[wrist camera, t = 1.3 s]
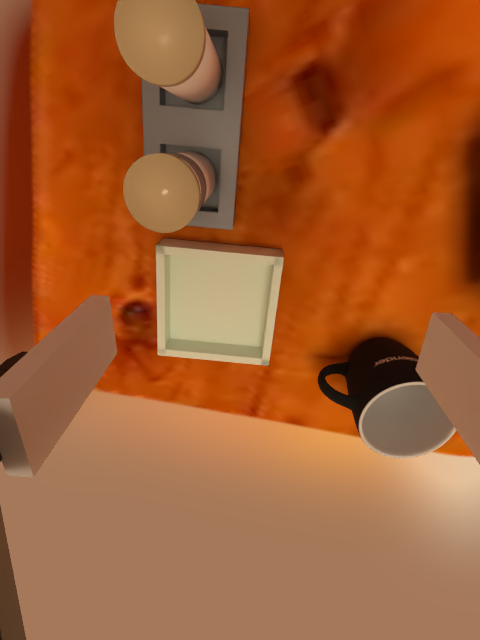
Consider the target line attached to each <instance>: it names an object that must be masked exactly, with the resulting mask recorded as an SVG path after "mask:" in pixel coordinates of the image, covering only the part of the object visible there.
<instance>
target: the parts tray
mask: <svg viewBox="0 0 480 640" xmlns="http://www.w3.org/2000/svg"><path fill="white" fill-rule="evenodd" d="M283 261H284V256H283V251H282V249H275V248H264V247H254V246H243V245H232V244H222V243H211V242H201V241H190V240H180V239H169V238H163V239H162V240H161V241H160V242H159V243H158V244H157V245H156V284H157V337H158V355H162V356H173V357H183V358H193V359H204V360H214V361H225V362H235V363H246V364H256V365H266V366H269V360H270V353H271V346H272V339H273V332H274V324H275V317H276V310H277V303H278V296H279V289H280V282H281V275H282V268H283Z"/></svg>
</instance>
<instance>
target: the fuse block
mask: <svg viewBox="0 0 480 640" xmlns="http://www.w3.org/2000/svg"><path fill="white" fill-rule="evenodd" d="M249 20H250V18H249V8H239V7H228V6H217V5H206V4H197V2H196V0H118V2H117V4H116V9H115V14H114V32H115V38H116V42H117V45H118V48H119V51H120V53H121V55H122V57H123V59H124V61H125V62H126V63H127V65H128V66H129V67H130V68H131V70H132V71H133V72H134V73H136V74H137V75H138V76H139V77H141V78H142V109H143V142H144V156H145V155H149V154H155V153H180V152H189V151H196V152H200V153H202V154H204V155H206V156H207V157H208V158H209V159H210V160H211V161H212V162H213V164H214V166H215V168H216V171H217V176H218V181H217V186H216V189H215V191H214V192H213V194H212V195H211V196H210V197H209V198H208V199H207V201H206V202H205V203H204V204H203V205H202V207H201V208H200V209H199V211H198V212H197V213H196V214H195V216H194V217H193V218H192V220H191V221H190V222H189V223H188V224H187V225H186V226H197V227H207V228H218V229H229V230H233V226H234V219H235V205H236V192H237V179H238V166H239V153H240V139H241V126H242V113H243V100H244V86H245V73H246V60H247V47H248V34H249Z"/></svg>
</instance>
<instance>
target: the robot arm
mask: <svg viewBox="0 0 480 640" xmlns="http://www.w3.org/2000/svg"><path fill="white" fill-rule="evenodd" d="M116 354H117V348H116V341H115V334H114V327H113V319H112V312H111V305H110V297H109V296H98V295H91V296H89V297H88V298H87V299H86V300H85V301H84V302H83V303H82V304H81V305H80V306H78V307H77V308H76V309H75V310H74V311H73V312H72V313H71V314H70V315H69V316H67V317H66V318H65V319H64V320H63V321H62V322H61V323H60V324H59V325H58V326H56V327H55V328H54V329H53V330H52V331H51V332H50V333H49V334H48V335H47V336H45V337H44V338H43V339H42V340H41V341H40V342H39V343H38V344H37V345H36V346H34V347H33V348H32V349H31V350H30V351H29V352H21V353H19V354H17V355H15V356H13V357H11V358H9V359H7V360H6V361H5V362H3V364H1V365H0V461H1V460H2V463H3V466H4V468H5V471H6V474H7V475H10V476H25V477H34V476H35V474H36V473H37V471H38V470H39V468H40V467H41V465H42V464H43V462H44V461H45V460H46V458H47V457H48V455H49V454H50V452H51V451H52V449H53V448H54V446H55V445H56V443H57V442H58V440H59V439H60V437H61V436H62V434H63V433H64V431H65V430H66V428H67V427H68V425H69V424H70V422H71V421H72V420H73V418H74V416H75V415H76V413H77V412H78V411H79V409H80V408H81V406H82V405H83V403H84V402H85V400H86V399H87V397H88V396H89V394H90V393H91V391H92V390H93V388H94V387H95V385H96V384H97V382H98V381H99V379H100V378H101V377H102V375H103V374H104V372H105V371H106V369H107V368H108V366H109V365H110V363H111V362H112V360H113V359H114V357H115V356H116ZM416 371H417V373H418V374H419V376H420V377H421V379H422V380H423V382H424V383H425V385H426V386H427V388H428V389H429V391H430V392H431V394H432V395H433V396H434V398H435V399H436V401H437V402H438V404H439V405H440V407H441V408H442V410H443V411H444V413H445V414H446V416H447V417H448V419H449V420H450V421H451V423H452V424H453V426H454V427H455V429H456V430H457V432H458V433H459V435H460V436H461V438H462V439H463V441H464V442H465V444H466V445H467V447H468V448H469V449H470V451H471V452H472V454H473V455H474V457H475V458H476V460H477V461H478V463H479V464H480V338H479V337H478V336H476V335H475V334H474V333H473V332H472V331H471V330H470V329H469V328H468V327H466V326H465V325H464V324H463V323H462V322H461V321H460V320H459V319H458V318H456V317H455V316H454V315H453V314H452V313H432V316H431V319H430V323H429V326H428V329H427V333H426V336H425V339H424V343H423V346H422V349H421V353H420V356H419V359H418V363H417V366H416ZM0 640H26V637H25V632H24V626H23V621H22V616H21V611H20V606H19V600H18V595H17V590H16V585H15V580H14V575H13V569H12V564H11V559H10V554H9V549H8V543H7V538H6V533H5V528H4V523H3V517H2V513H1V508H0Z"/></svg>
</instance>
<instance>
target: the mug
mask: <svg viewBox="0 0 480 640" xmlns="http://www.w3.org/2000/svg"><path fill="white" fill-rule="evenodd" d="M418 359H419V357H418V356H417V355H416V354H415V353H414V352H412V351H411V350H410V349H409V348H407V347H406V346H404V345H402V344H401V343H399V342H396V341H394V340H390V339H383V338H379V339H373V340H369V341H366V342H364V343H362V344H361V345H359V346H358V347H357V348H356V349H355V350H354V351H353V352H352V354H351V356H350V358H349V360H348V362H345V363H339V364H332V365H328V366H326V367H324V368H323V369H322V370H321V371H320V373H319V376H318V384H319V387H320V389H321V391H322V392H323V393H324V394H325V395H326V396H327V397H328V398H329V399H330V400H332V401H334V402H335V403H337V404H340V405H342V406H344V407H346V408H349V409H350V410H352V413H353V416H354V420H355V423H356V426H357V429H358V432H359V434H360V436H361V438H362V440H363V441H364V443H365V444H366V445H367V446H368V447H369V448H370V449H371V450H373V451H375V452H376V453H378V454H381V455H384V456H387V457H392V458H411V457H412V458H413V457H417V456H421V455H425V454H427V453H430V452H432V451H434V450H436V449H437V448H439V447H441V446H442V445H443V444H445V443H446V442H447V441H448V440H449V439H450V438H451V437H452V436H453V434H454V433H455V431H456V429H455V427H454V426H453V424H452V423H451V421H450V420H449V419H448V417H447V416H446V414H445V413H444V411H443V410H442V408H441V407H440V405H439V404H438V402H437V401H436V399H435V398H434V396H433V395H432V394H431V392H430V391H429V389H428V388H427V386H426V385H425V383H424V382H423V380H422V379H421V377H420V376H419V374H418V373H417V371H416V366H417V363H418ZM330 374H342V375H344V376H345V377H346V382H347V389H348V395H345V394H342V393H340V392H338V391H336V390H335V389H333V388H332V387H331V386H330V385H329V384H328V383H327V382H326V380H325V377H326V376H328V375H330Z"/></svg>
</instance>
